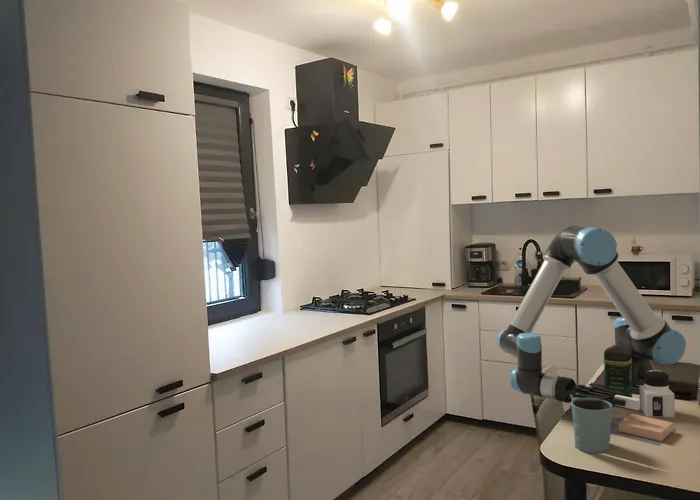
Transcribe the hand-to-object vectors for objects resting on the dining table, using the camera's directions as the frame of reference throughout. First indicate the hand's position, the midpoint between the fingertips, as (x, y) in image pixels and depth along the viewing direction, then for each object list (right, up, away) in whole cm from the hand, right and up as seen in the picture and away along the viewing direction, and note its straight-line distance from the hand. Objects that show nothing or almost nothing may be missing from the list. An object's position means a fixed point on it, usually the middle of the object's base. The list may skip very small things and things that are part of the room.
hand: (638, 404), depth 162 cm
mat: (0, -8, +1) cm, 8 cm away
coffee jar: (+5, -6, +23) cm, 24 cm away
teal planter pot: (-16, -10, -7) cm, 20 cm away
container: (+12, -7, +13) cm, 19 cm away
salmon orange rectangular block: (-2, -6, +3) cm, 7 cm away
